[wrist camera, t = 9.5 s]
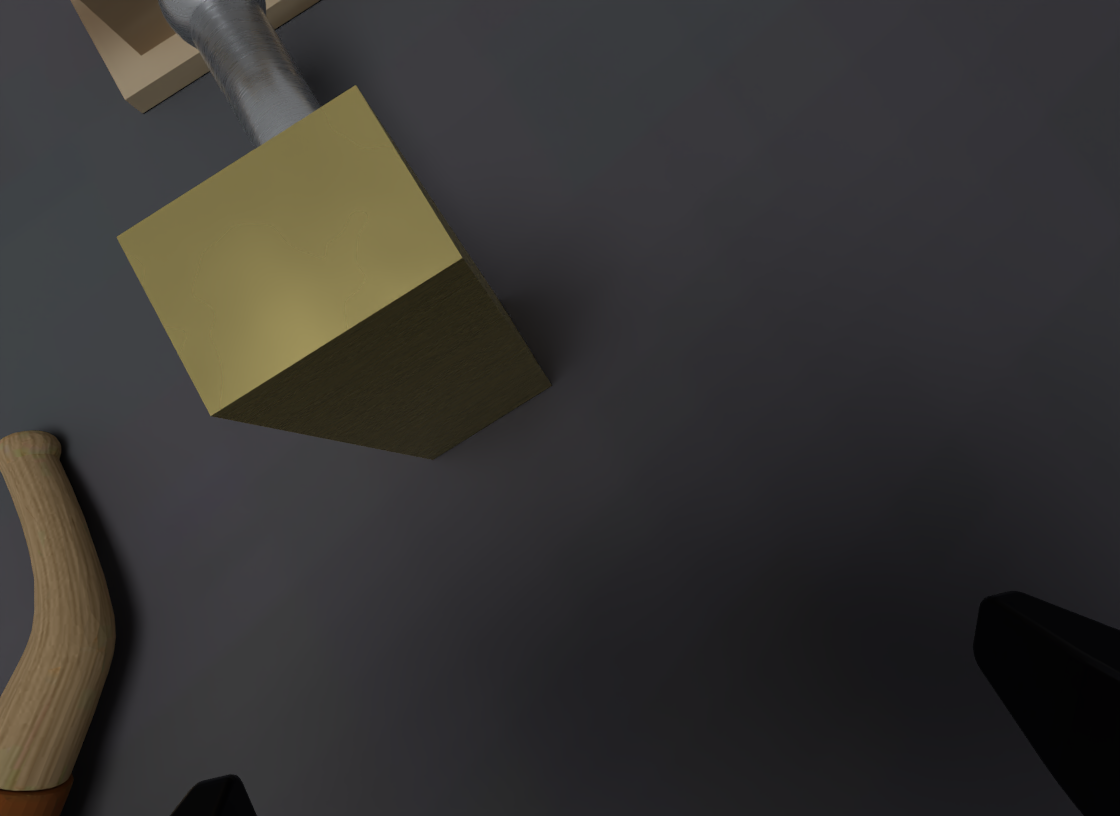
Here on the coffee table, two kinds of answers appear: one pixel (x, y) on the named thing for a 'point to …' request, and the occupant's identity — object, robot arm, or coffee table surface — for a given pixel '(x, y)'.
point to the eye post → (153, 45)
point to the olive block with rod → (322, 268)
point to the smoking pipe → (52, 634)
